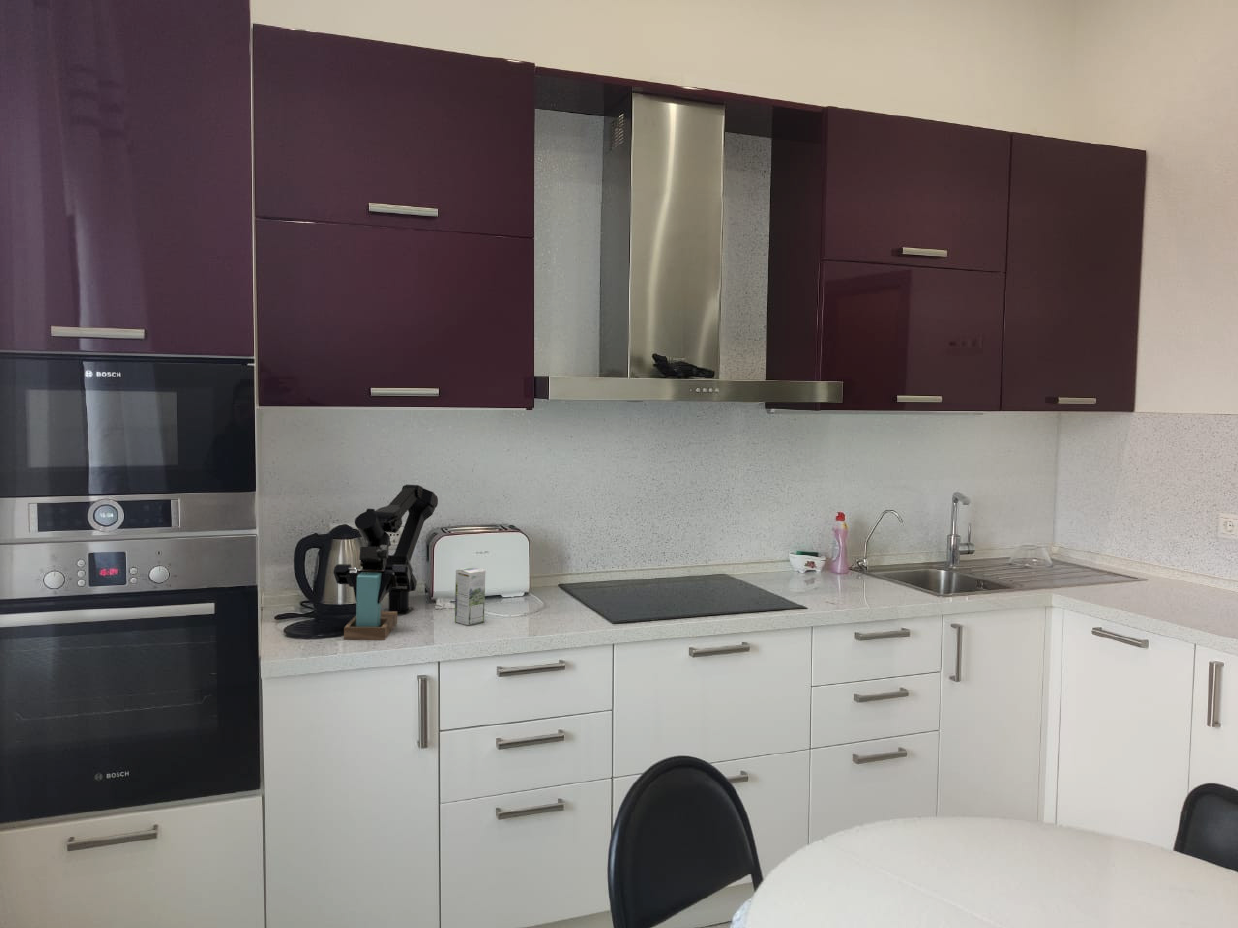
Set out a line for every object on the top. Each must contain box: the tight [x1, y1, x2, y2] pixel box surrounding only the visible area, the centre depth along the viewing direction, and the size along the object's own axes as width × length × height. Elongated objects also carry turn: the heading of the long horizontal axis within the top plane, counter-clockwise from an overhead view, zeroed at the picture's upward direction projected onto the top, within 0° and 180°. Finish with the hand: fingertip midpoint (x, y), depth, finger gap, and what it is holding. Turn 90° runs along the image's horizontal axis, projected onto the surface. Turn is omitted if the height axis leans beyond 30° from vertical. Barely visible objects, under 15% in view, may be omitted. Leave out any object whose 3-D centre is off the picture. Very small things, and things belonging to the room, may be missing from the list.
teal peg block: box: [355, 572, 382, 627], centre depth 235 cm, size 5×5×14 cm
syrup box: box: [454, 566, 486, 626], centre depth 249 cm, size 6×6×14 cm
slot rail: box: [343, 610, 398, 641], centre depth 239 cm, size 17×10×3 cm, turn 3°
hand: (367, 602), depth 234 cm, fingers closed on teal peg block, 5 cm apart
